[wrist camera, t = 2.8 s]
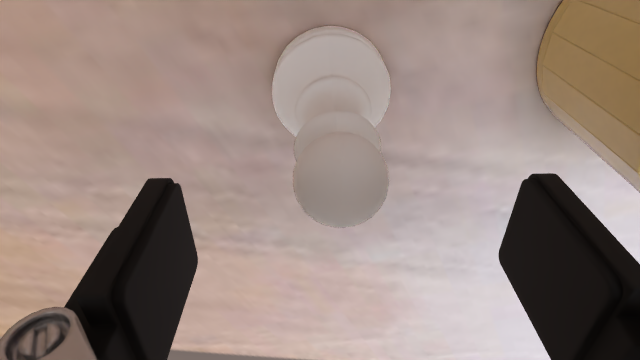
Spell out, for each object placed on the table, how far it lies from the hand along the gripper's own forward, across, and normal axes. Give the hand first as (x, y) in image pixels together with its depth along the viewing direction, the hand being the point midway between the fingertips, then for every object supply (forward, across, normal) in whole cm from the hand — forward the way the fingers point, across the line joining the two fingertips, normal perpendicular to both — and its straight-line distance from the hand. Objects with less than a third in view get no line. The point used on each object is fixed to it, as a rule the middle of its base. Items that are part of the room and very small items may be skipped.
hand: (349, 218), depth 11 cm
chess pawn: (+9, 0, -1) cm, 9 cm away
